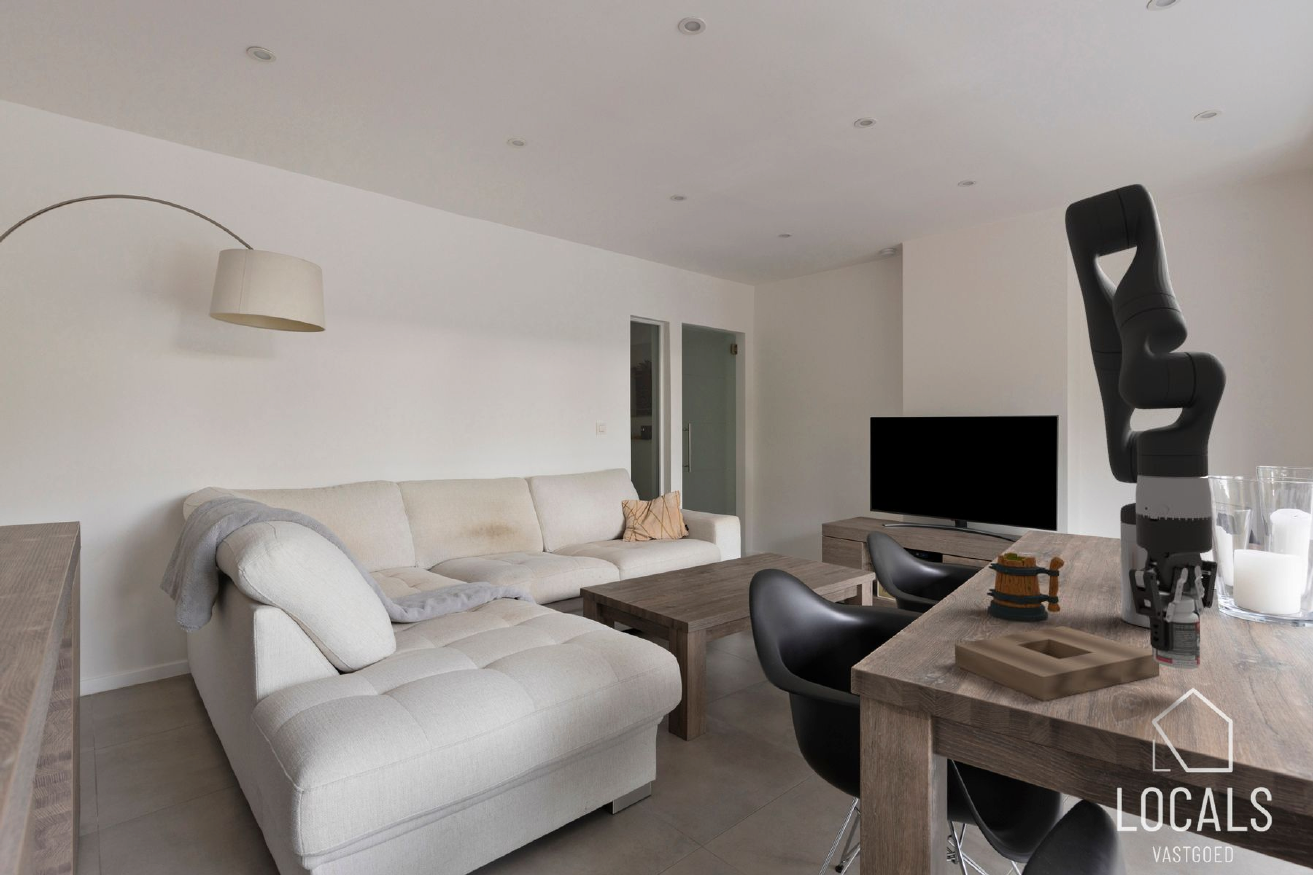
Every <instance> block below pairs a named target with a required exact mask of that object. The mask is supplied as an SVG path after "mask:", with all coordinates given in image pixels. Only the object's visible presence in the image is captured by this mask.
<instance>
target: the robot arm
mask: <svg viewBox="0 0 1313 875" xmlns="http://www.w3.org/2000/svg"><path fill="white" fill-rule="evenodd" d="M1064 213H1065V214H1064V224H1065V225H1064V226H1065V230H1066V237H1067V240H1068V245H1069V249H1070V254H1071V256H1072V257H1071V258H1072V261H1073V264H1074V267H1075V268H1074V269H1075V271H1076V272H1075V273H1076V276H1077V280H1078V284H1079V287H1080V291H1081V295H1082V300H1083V304H1084V305H1083V306H1084V310H1085V311H1084V312H1085V318H1086V325H1087V331H1088V338H1089V346H1090V351H1091V356H1092V360H1093V361H1092V362H1093V366H1094V370H1095V374H1096V378H1097V382H1098V383H1097V384H1098V387H1099V392H1100V398H1101V402H1102V409H1103V418H1104V426H1105V438H1106V446H1107V455H1108V457H1107V458H1108V462H1109V468H1110V472H1111V473H1112V476H1113V478H1114V479H1115V480H1116V481H1118V482H1120V483H1126V484H1135V485H1136V486H1135V487H1136V488H1135V502H1132V503H1128V504H1125V505H1123V506H1122V507H1121V508H1120V513H1119V514H1120V516H1119V517H1120V524H1119V525H1120V573H1121V574H1120V578H1121V579H1120V580H1121V584H1120V585H1121V588H1120V590H1121V597H1120V598H1121V620H1123V621H1125V622H1126V623H1129V624H1130V625H1131V624H1132V625H1135V626H1140V627H1143V628H1148V629H1149V632H1150V633H1149V635H1150V636H1149V641H1150V646H1151V648H1152V647H1153V648H1155V649H1159V650H1162V651H1166V652H1167V651H1171V650H1173V622H1171V620H1172V617H1173V611H1174V606H1175V605H1176V604H1179V603H1180V599H1181V595H1184V596H1188V597H1191V598H1193V599H1194V607H1195V608H1194V609H1195V610H1194V611H1192V612H1193V613H1195V614H1196V615H1197V616H1198V618H1199V643H1200V642H1201V623H1200V619H1201V618H1200V616H1202V615H1203V614H1204V611H1205V608H1207V609H1211V608H1212V606H1213V604H1214V594H1215V589H1216V588H1215V587H1216V582H1217V581H1216V580H1217V572H1218V563H1217V562H1216V561H1212V560H1207V559H1202V557H1201V556H1202V555H1201V554H1206V553H1209V552H1211V551H1212V549H1213V513H1212V512H1213V510H1212V508H1213V506H1212V491H1211V486H1210V481H1209V479H1210V478H1209V455H1208V454H1209V440H1210V436H1211V431H1212V428H1213V424H1214V421H1215V417H1216V414H1217V411H1218V408H1219V405H1220V403H1221V401H1222V397H1223V394H1224V392H1225V388H1226V383H1227V373H1226V368H1225V366H1224V364H1223V362H1222V360H1221V359H1220V358H1219V357H1218V356H1217V355H1215V354H1214V353H1212V352H1209V351H1206V350H1205V351H1204V350H1191V351H1178V352H1177V351H1176V352H1174V351H1175V350H1178V349H1179V348H1180V347H1181V346H1182V345H1183V344H1185V342H1186V340H1187V337H1188V332H1189V331H1188V326H1187V322H1186V320H1185V317H1184V314H1183V312H1182V309H1181V307H1180V304H1179V302H1178V299H1177V297H1176V294H1175V291H1174V289H1173V285H1172V281H1171V278H1170V273H1169V272H1170V271H1169V266H1168V259H1167V252H1166V249H1165V248H1166V247H1165V243H1164V238H1163V233H1162V229H1161V222H1160V219H1159V215H1158V210H1157V207H1156V203H1155V201H1154V199H1153V195H1152V194H1151V192H1150V191H1149V189H1148V188H1147V187H1146V186H1145V185H1143V184H1140V183H1139V184H1138V183H1135V184H1129V185H1125V186H1121V187H1118V188H1115V189H1112V190H1109V191H1105V192H1101V193H1099V194H1095V195H1092V196H1090V197H1086V198H1084V199H1083V198H1082V199H1080V200H1078V201H1077V200H1076V201H1074V202H1072V203H1070V204H1069V205H1068V206H1067V208H1066V210H1065V212H1064ZM1134 248H1136V249H1135V254H1134V256H1133V259H1132V261H1131V263H1130V265H1129V266H1128V268H1127V270H1126V272H1125V273H1124V274H1123V276H1122V278H1121V280H1120V282H1119V283H1118V285H1117V286H1116V284H1114V283H1113V281H1112V280H1110V279H1109V277H1108V276H1107V275H1106V274H1105V272H1104V271H1103V269H1102V268H1101V266H1100V264H1099V258H1101V257H1105V256H1109V255H1111V254H1115V253H1119V252H1122V251H1123V252H1124V251H1127V250H1131V249H1134ZM1136 409H1137V410H1165V409H1166V410H1168V409H1181V411H1180V414H1179V416H1178V418H1177V419H1176V420H1175V421H1174V422H1173V423H1171V424H1168V425H1165V426H1159V427H1155V428H1149V429H1146V430H1132V428H1131V418H1132V416H1133V415H1134V414H1133V413H1134V412H1135V410H1136ZM1159 593H1170V594H1169V595H1162V594H1159ZM1161 601H1164V602H1165V604H1164V609H1163V610H1162V605H1161Z"/></svg>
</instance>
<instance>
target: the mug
mask: <svg viewBox="0 0 1313 875" xmlns="http://www.w3.org/2000/svg"><path fill="white" fill-rule="evenodd" d="M1064 565H1065V561H1064V560H1063V559H1062V558H1060V557H1059V556H1054V557H1052V559H1051V560H1050V563H1049V568H1046V567H1042V566H1038V565H1037V561H1036V556H1031V557H1030V556H1029V557H1028V556H1022V555H1018V553H1016V552H1011V551H1010V552H1005V553H1004V555H1003V554H1002V555H1001V554H999V555H997V562H996V563H995V562H994V563H992V562H991V563H990V565H988V569H991V570H993V571H994V572H995V581H994V582H995V583H994V588H989V589H988V591H989V592H986V595H987V596H990V597H992V598H993V599H991V600H990V602H989V604H990V605H988V606H987V613H988V615H990V616H992V617H995V618H998V619H1002V620H1006V621H1011V622H1021V623H1040V622H1046V621H1047V620H1048V619H1049V613H1048V612H1050V613H1058V612H1060V611H1061V606H1060V605H1059V602H1060V601H1059V596H1058V592H1059V577H1060V570H1059V569H1061V568H1063V567H1064ZM1041 574H1045V575H1047V576H1049V581H1048V582H1049V586H1048V594H1043V593H1041V589H1040V581H1039V575H1041ZM1044 602H1045V603H1046V602H1047V604H1048V605H1047V610H1046V606H1045V604H1043V603H1044Z"/></svg>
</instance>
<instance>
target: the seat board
mask: <svg viewBox="0 0 1313 875" xmlns="http://www.w3.org/2000/svg"><path fill="white" fill-rule="evenodd" d="M954 662H955V663H954V666H957V667H959V668H962V669H964V670H966V671H970V673H971V672H972V673H974V674H976V675H979V676H981V677H983V678H986V679H989V680H991V681H993V682H996V683H999V684H1001V685H1003V686H1006V687H1008V688H1010V689H1013V690H1016V691H1018V692H1020V693H1022V694H1026V695H1027V696H1031V697H1033V698H1035V699H1038V700H1039V701H1042V702H1045V701H1049V700H1051V701H1052V700H1053V699H1054V700H1055V699H1060V698H1065V697H1068V696H1072V695H1073V696H1074V695H1078V694H1081V693H1082V694H1083V693H1086V692H1091V691H1094V690H1099V689H1100V690H1101V689H1103V688H1109V687H1114V686H1117V685H1122V684H1126V683H1131V682H1135V681H1139V680H1144V679H1149V678H1153V677H1158V676H1160V664H1159V663H1157V662H1156V661H1155V660H1154V659H1153V657H1152V650H1149V649H1146V648H1141V647H1138V646H1135V645H1131V644H1128V643H1124V642H1120V641H1118V640H1113V639H1110V638H1107V637H1103V636H1099V635H1096V634H1092V633H1088V632H1085V631H1081V630H1077V629H1075V628H1071V627H1067V626H1064V625H1059V626H1057V627H1056V626H1054V627H1049V628H1044V629H1038V630H1033V631H1032V630H1031V631H1025V632H1020V633H1015V634H1008V635H1002V636H997V637H991V638H985V639H977V640H973V641H966V642H960V643H956V644H954Z"/></svg>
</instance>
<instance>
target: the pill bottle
mask: <svg viewBox="0 0 1313 875" xmlns="http://www.w3.org/2000/svg"><path fill="white" fill-rule="evenodd" d="M1159 594H1162V595H1169V594H1170V593H1159ZM1164 604H1165V602H1164V601H1161V605H1162V610H1163V609H1164ZM1194 608H1195V607H1194V599H1193V598H1191V597H1188V596H1184V595H1181V599H1180V603H1179V604H1176V605H1175V606H1174V611H1173V617H1172V620H1171V622H1173V650H1171V651H1167V652H1166V651H1162V650H1159V649H1155V648H1153V647H1152V646H1151V649H1152V650H1151V651H1152V657H1153V659H1154V660H1155V661H1156V662H1157V663H1159V665H1162V666H1165V667H1169V668H1174V669H1184V670H1195V669H1198V668H1199V667H1200V665H1201V653H1200V652H1201V651H1200V650H1201V648H1200V647H1201V646H1200V645H1201V644H1200V643H1199V618H1198V616H1197V615H1196V614H1195V613H1193V612H1192V611H1194V610H1195V609H1194Z"/></svg>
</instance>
